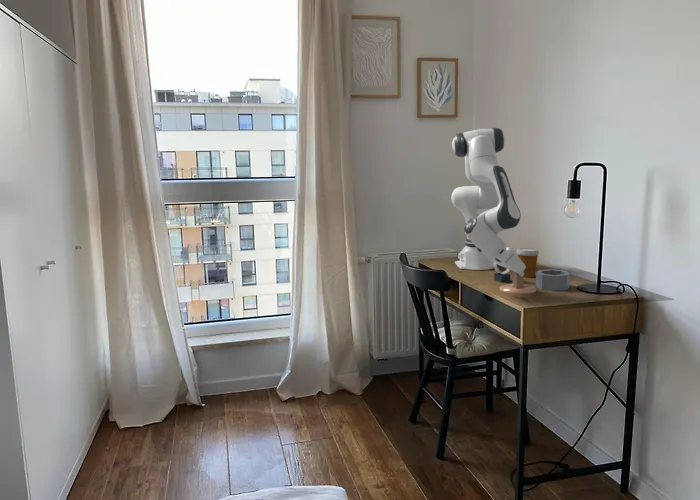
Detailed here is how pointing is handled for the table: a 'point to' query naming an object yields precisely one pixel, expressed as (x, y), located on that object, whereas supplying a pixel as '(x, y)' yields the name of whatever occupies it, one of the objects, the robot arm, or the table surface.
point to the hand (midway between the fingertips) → (519, 273)
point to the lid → (517, 286)
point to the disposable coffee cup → (528, 260)
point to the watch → (501, 274)
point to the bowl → (552, 280)
